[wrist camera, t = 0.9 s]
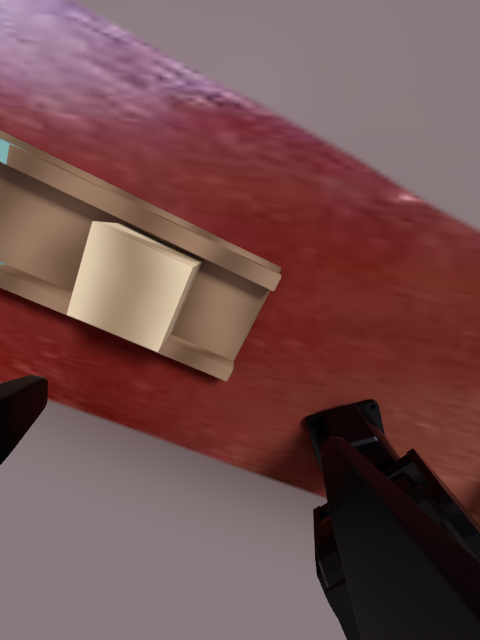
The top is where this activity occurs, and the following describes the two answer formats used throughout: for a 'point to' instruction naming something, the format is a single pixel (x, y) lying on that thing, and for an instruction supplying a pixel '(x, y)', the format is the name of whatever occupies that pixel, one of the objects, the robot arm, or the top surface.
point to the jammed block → (132, 284)
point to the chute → (121, 207)
